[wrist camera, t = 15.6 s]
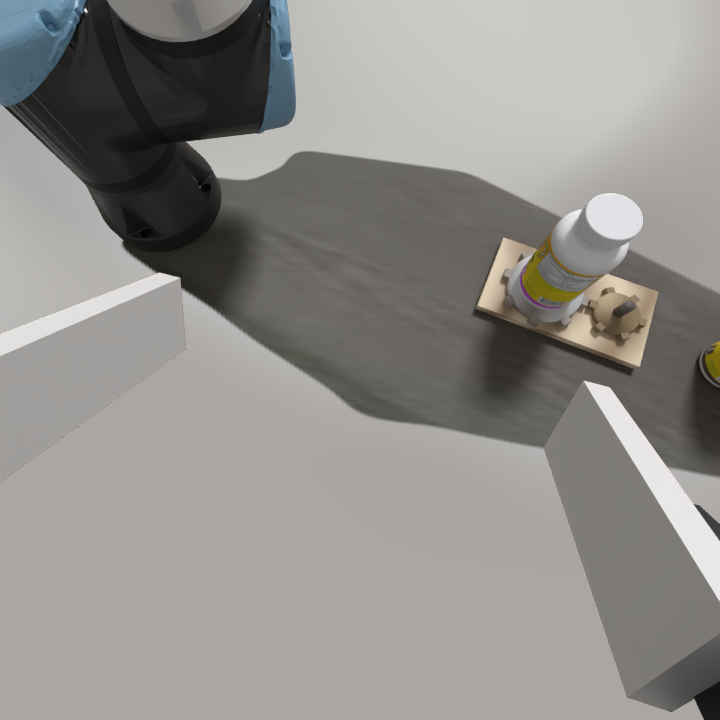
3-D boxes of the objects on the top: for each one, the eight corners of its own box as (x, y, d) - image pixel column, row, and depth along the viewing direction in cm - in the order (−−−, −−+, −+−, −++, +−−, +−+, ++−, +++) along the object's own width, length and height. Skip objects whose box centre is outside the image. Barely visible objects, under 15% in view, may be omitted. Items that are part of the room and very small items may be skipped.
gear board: (475, 308, 44) (484, 295, 40) (500, 242, 46) (512, 223, 43) (633, 368, 42) (658, 360, 38) (652, 295, 44) (677, 280, 40)
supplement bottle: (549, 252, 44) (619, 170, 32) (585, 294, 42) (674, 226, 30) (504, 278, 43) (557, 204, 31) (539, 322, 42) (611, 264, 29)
